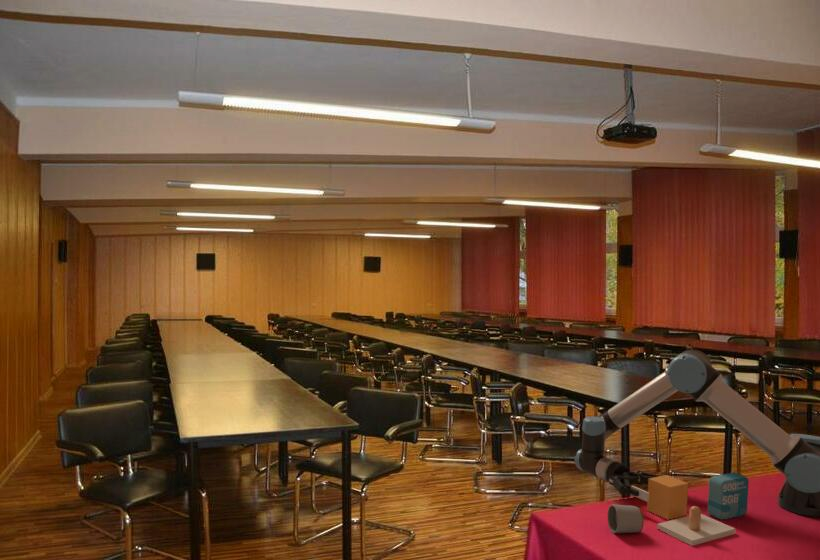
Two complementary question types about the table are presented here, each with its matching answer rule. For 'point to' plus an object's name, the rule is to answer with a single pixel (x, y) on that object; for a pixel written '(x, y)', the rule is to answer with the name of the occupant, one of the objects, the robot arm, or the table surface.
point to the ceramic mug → (625, 519)
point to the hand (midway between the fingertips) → (664, 493)
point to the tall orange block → (667, 497)
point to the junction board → (696, 536)
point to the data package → (728, 495)
